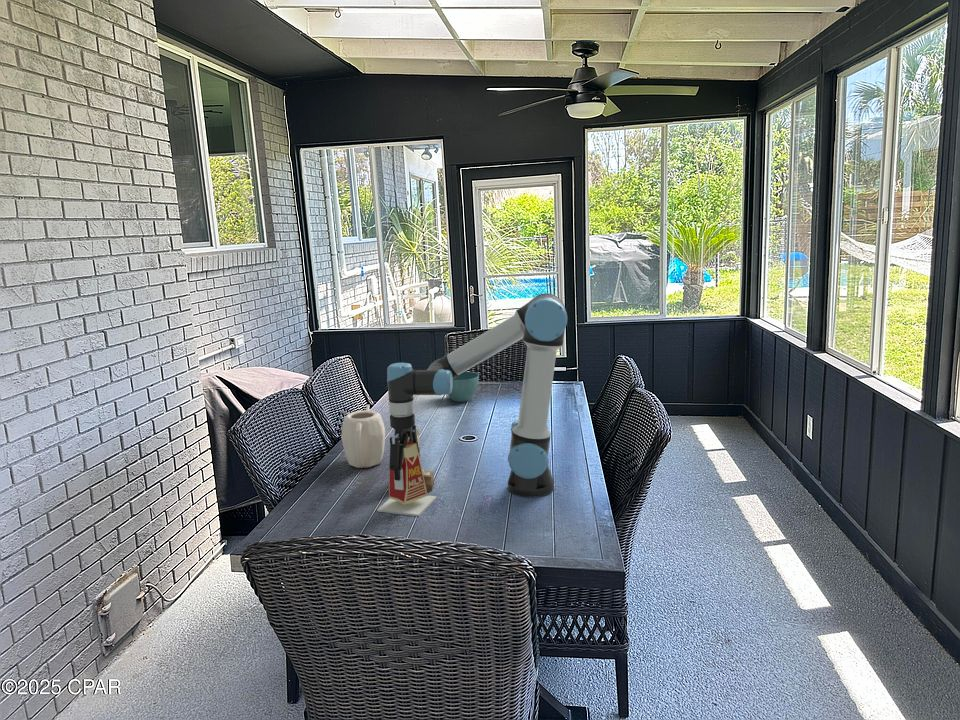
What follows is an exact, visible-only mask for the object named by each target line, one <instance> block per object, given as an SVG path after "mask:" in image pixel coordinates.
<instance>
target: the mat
mask: <svg viewBox="0 0 960 720" xmlns="http://www.w3.org/2000/svg"><path fill="white" fill-rule="evenodd" d="M437 499H438V496H436V495H428V496H426V497H423V498H421V499H418V500H416V501H413V502H411V503H408V504H405V505H404V504H402V503H401V502H399V501H396V500H393V499H390V498H388V499H387V500H386V501H385V502H384V503H383V504H382V505H381V506H379V507H378V508H377V510H376V511H377V512H378V513H379V512H380V513H387V514H396V515H404V516H411V517H412V516H413V517H420V516H421V515H422V514H423V513H424V512H425V511H426V510H427V509H428V508H429V506H431V505H432V504H433V503H434V501H436V500H437Z"/></svg>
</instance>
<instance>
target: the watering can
mask: <svg viewBox="0 0 960 720" xmlns="http://www.w3.org/2000/svg"><path fill="white" fill-rule="evenodd" d="M370 405H371V404H366V405H365V406H366V407H365V410H358V411H352V412H350V413H348V414H347V415H346V416H345V417H344V419H343V422H342V426H341V435H340V436H341V441H342V446H343V451H344V455H345V457H346V461H347V462H348V465H350V466H352V467H355V468H358V469H359V468H360V469H361V468H371V467H374V466H377V465H380V464H381V462H382V459H383V457H384V451H385V444H386V428H385V424H384V420H383V418H382V415H381V414H380V413H378V412H377V411H375V410H370Z"/></svg>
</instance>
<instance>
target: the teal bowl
mask: <svg viewBox="0 0 960 720" xmlns="http://www.w3.org/2000/svg"><path fill="white" fill-rule="evenodd" d="M479 377H480V375H479V373H477V372H475V371H474V372H473V371H465V372H463V373H461V374H460V375H458V376H457V377H455V378H453V387H452V392H451V393H450V394H447V395H448V397H449V398H450V399H451V400H452V401H454V402H457V403H464V402H467V401H470V400H471V399H472V398H473V395H475V393H476V391H477V388H478V385H479V380H480V379H479Z"/></svg>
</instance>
